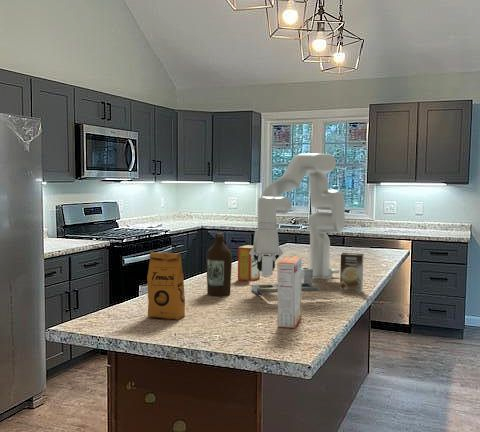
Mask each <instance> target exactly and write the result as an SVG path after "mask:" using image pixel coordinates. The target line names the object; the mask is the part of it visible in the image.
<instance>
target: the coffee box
mask: <svg viewBox="0 0 480 432" xmlns="http://www.w3.org/2000/svg"><path fill="white" fill-rule="evenodd" d="M339 274H340V277H339V290H341V291H342V290H343V291H344V290H346V291H355V292H357V293H359V294H362V293H363V284H364V283H363V280H364V253H357V252H354V253H353V252H342V253H341V254H340V269H339Z"/></svg>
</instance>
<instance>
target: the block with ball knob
mask: <svg viewBox="0 0 480 432" xmlns="http://www.w3.org/2000/svg"><path fill="white" fill-rule="evenodd" d="M313 280H314V279H313V269H310V267H301V283H312V284H313ZM313 285H314V284H313Z"/></svg>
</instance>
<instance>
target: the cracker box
mask: <svg viewBox="0 0 480 432" xmlns="http://www.w3.org/2000/svg"><path fill="white" fill-rule="evenodd" d="M276 267H277V284H278V292H277V327H278V328H284V329H296V327H297V325H298V324H299V322H300V320H301V319H302V291H301V268H302V257H301V256H285V257H284V258H282V259H281V260H279V262H277V266H276Z"/></svg>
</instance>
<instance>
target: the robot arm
mask: <svg viewBox="0 0 480 432" xmlns="http://www.w3.org/2000/svg"><path fill="white" fill-rule="evenodd" d="M336 164H337V162H336V158H335V156H334V155H332V154H331V153H316V152H315V153H299V154H296V155H295V154H294V156H293V157H292V159H291V161H289V164H288V165H287V167H286V169H285V171H284V173H283V175H281V177H279V178H277V179H276V180H274V181H273V182H271V183H270V184H269V185H267V187H266V188H265V189H264V190H263V192H262V194H261V196H260V197H259V198H258V200H257V229H255V230H254V236H253V245H252V246H253V248H252V249H251V251H250V252H249V254H250V255H252V256H253V257H254V258H255V259H256V260H257V269H258V270H259V271H261V270H262V262H261V257H262V255H271V256H273V272H274V271H275V270H274V269H276V261H277V260H278V259H279V257H281V256H282V255H284V252H283V251H282V250H283V249H281V247H280V242H279V233H278V229H277V228H279V227H280V223H277V221H276V220H277V215H286V214H288V213H289V212H290V210H292V202H291V200H290V198H288V197H286V196H282V194H284V193H287V192H291V191H293V190H295V189H297V188H299V187H300V185H301V183H302V181H303V179H304V177H305V175H307V177H308V179H309V185H310V186H309V187H310V188H309V189H310V204H311V207H312V208H313V209H315V210H323V211H317V212H316V211H315V212H312V213H311V214H310V215H309V216H308V219H307V220H308V222H307V223H308V230H309V239H310V240H309V268H310V269H313V280H326V279H327V280H328V279H329V280H330V278H331V279H333V277H334V276H333V274H340V269H339V268H336V269H333V268H332V267H330V262H331V261H330V259H331V255H330V254H331V240H330V237H329V236H328V233H329V234H330V233H331V234H340V233H342V232H343V231H344V229H345V225H346V222H345V221H346V216H345V214H346V213H345V211H346V210H345V209H346V208H345V197H344V194H343V193H342V192H341V190H338V189H329V179H328V176H327V174H326V173H332V172H333V171H334V169H335V167H336V166H337V165H336ZM280 195H281V196H280ZM324 210H325V211H324ZM326 211H327V212H326ZM328 211H331V212H328ZM254 252H255V253H257V255H255V254H254Z"/></svg>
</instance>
